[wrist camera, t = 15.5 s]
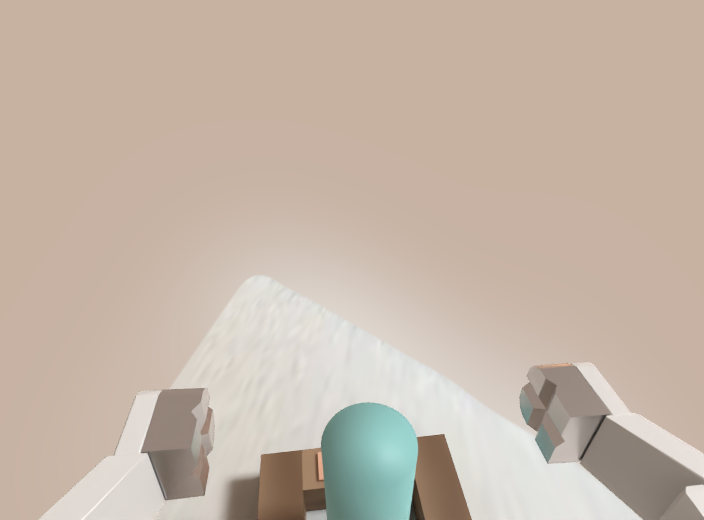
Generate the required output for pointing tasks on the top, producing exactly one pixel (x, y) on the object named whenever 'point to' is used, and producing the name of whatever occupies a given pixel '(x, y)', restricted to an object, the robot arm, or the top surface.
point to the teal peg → (369, 463)
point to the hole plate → (309, 491)
